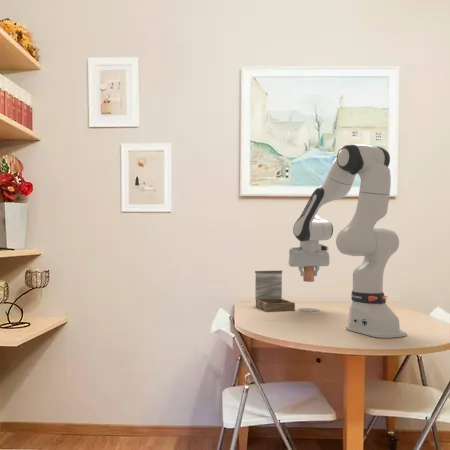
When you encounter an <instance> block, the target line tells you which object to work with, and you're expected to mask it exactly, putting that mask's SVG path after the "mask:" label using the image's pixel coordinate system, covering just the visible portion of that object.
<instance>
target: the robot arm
mask: <svg viewBox="0 0 450 450" xmlns="http://www.w3.org/2000/svg"><path fill="white" fill-rule="evenodd" d="M390 162H391V156H390V153H389V152H388V151H387V150H386V149H385V148H383V147H380V146H374V145H373V146H372V145H368V144H355V143H349V144H345V145H342V146H341V147H340V148H339V149H338V151H337V154H336V157H335V159H334V161H333V162H332V164H331V167H330V168H329V170H328V174H327V176H326V177H325V179H324V180H323V182H322V183H321V185H319V186H318V187H317V188H315V189H314V191H313V193H311V195H310V197H309V199H308V201H307V203H306V205H305V207H304V209H303V210H302V212H301V214H300V216H299V217H298V219H297V220H296V221H295V223H294V224H293V228H292V232H293V235H294V237H295V238H296V239H297V240H298V241H299V246H293V247H290V249H289V250H288V252H289V253H288V254H289V257H288V265H289V267H292V268H295V267H297V268H298V271H299V272H300V277H303V276H305V273H304V268H303V267H313V266H314V277H317V276H318V273H319V270H320V267H328V266H329V265H330V253H329V252H328V251H329V247H328V246H327V245H324V244H321V243H320V241H328V240H330V239H331V238H332V236H333V234H334V227H333V226H334V225H333V224H332V222H331V221H330V220H327V219H324V218H322V217H321V216H319V213H318V212H319V210H320V209H321V208H322V207H323V206H324V205H326V204H328V203H330V202H333V201H337V200H340V199H343V198H344V197H346V196H347V195H348V193H350V191H351V188H352V187H353V184H354V181H355V178H356V176H357V175H358V176H359V178H360V185H359V192H358V199H357V204H356V209H355V213H354V215H353V217H352V219H351V220H350V222H349V223H348V225H346V226H345V227H344V228H343V229H342V230H340V231H339V232H338V234H337V236H336V238H335V243H336V248H337V250H338V251H339V252H340V253H341V254H342V255H347V256H351V257H363V260H362V262H361V264H360V265H358V266H356V268H354V270H353V272H352V290H351V294H350V295H351V299H350V300H351V301H352V303H351V304H350V306H349V313H348V321H347V325H346V327H345V330H348V331H351V332H354V333H358V334H362V335H365V336H369V337H373V338H377V339H378V338H380V339H382V338H383V339H387V338H388V339H389V338H390V339H393V338H402V337H406V336H407V335H408V334H407V331H405V330H401V329H400V319H399V317H398V316H397V315H396V314H395V312H394V311H393V310H392V309H391V307H389V305H388V304H387V303H386V302H387V298H388V297H389V296H388V295H387V296H386V295H385V292H383V291H384V285H383V284H384V272H385V268H386V265H387V262H388V261H389V259H390V258H391V257H392V256H393V255H394V254H395V253H396V252H397V251H398V248H399V245H400V239H399V237H398V235H397V233H396V232H395V231H393V230H390V229H388V228H381V227H380V228H379V227H378V228H376V227H375V225H376V224H377V222H379V221H380V220H381V219H383V218H385V217H386V216H387V214H388V208H389V201H390V194H391V183H392V182H391V180H392V178H391V170H390V168H389V166H390Z"/></svg>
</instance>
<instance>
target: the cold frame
mask: <svg viewBox="0 0 450 450" xmlns="http://www.w3.org/2000/svg"><path fill="white" fill-rule="evenodd" d="M254 273H255V288H254V289H255V290H254V291H255V308H257V309H260V310H262V311H265V312H266V313H270V312H271V313H273V312H290V311H293V312H294V311H295V310H296V308H295V307H296V304H295V302H293V301H290V300H288V299H284V298H282V297H283V296H282V295H283V294H282V293H283V292H282V291H283V290H282V289H283V288H282V287H283V277H282V276H283V270H255V271H254Z"/></svg>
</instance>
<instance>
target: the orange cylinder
mask: <svg viewBox="0 0 450 450" xmlns="http://www.w3.org/2000/svg"><path fill="white" fill-rule="evenodd" d="M314 271H315V266H313V267H303V272H304V273H305V276H302V277H303V280H302V281H303V282H306V283H313V282H315V276H314Z"/></svg>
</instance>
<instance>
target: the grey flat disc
mask: <svg viewBox="0 0 450 450" xmlns="http://www.w3.org/2000/svg"><path fill="white" fill-rule="evenodd" d="M298 311H299V312H304V313H319V312H320V311H321V310H320V309H318V308H312V307H300V308H298Z"/></svg>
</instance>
